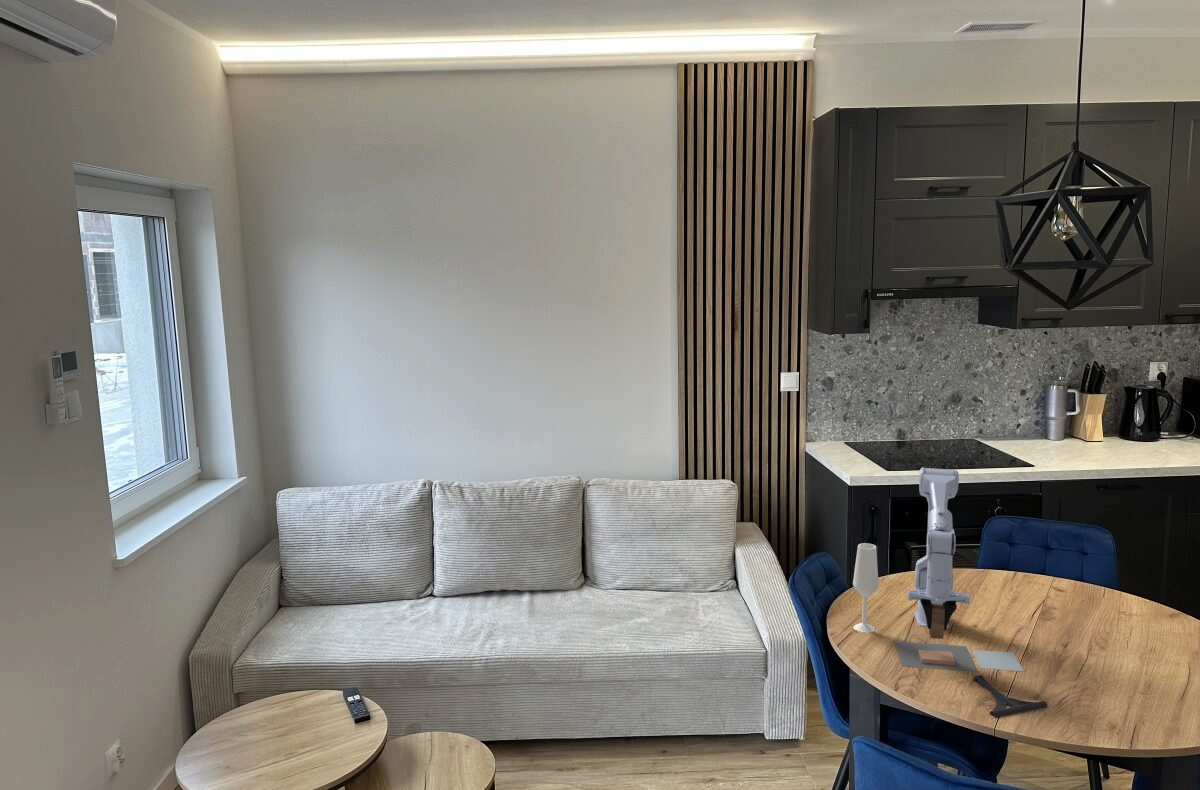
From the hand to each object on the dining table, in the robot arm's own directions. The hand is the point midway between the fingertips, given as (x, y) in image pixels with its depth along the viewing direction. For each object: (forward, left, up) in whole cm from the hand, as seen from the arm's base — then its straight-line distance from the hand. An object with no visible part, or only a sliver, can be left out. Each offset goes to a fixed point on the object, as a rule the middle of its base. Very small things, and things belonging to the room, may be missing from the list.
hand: (936, 627), depth 219 cm
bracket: (+18, +11, -9) cm, 23 cm away
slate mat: (0, 0, -8) cm, 8 cm away
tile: (-1, 0, -7) cm, 7 cm away
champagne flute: (-14, -16, -9) cm, 23 cm away
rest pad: (0, +15, -8) cm, 17 cm away
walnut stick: (0, 0, -2) cm, 2 cm away
